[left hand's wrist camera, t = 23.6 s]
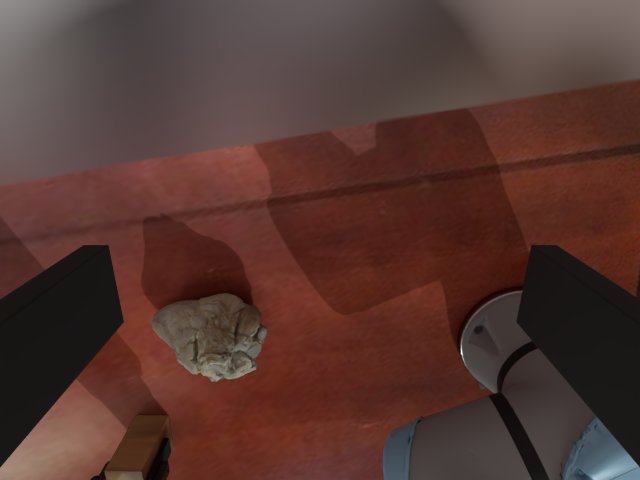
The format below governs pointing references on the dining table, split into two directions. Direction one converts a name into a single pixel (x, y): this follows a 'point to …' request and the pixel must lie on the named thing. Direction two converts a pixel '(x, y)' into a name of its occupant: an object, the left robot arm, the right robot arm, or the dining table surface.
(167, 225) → the dining table surface
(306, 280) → the dining table surface
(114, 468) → the block
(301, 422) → the dining table surface
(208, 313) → the lumpy boulder
